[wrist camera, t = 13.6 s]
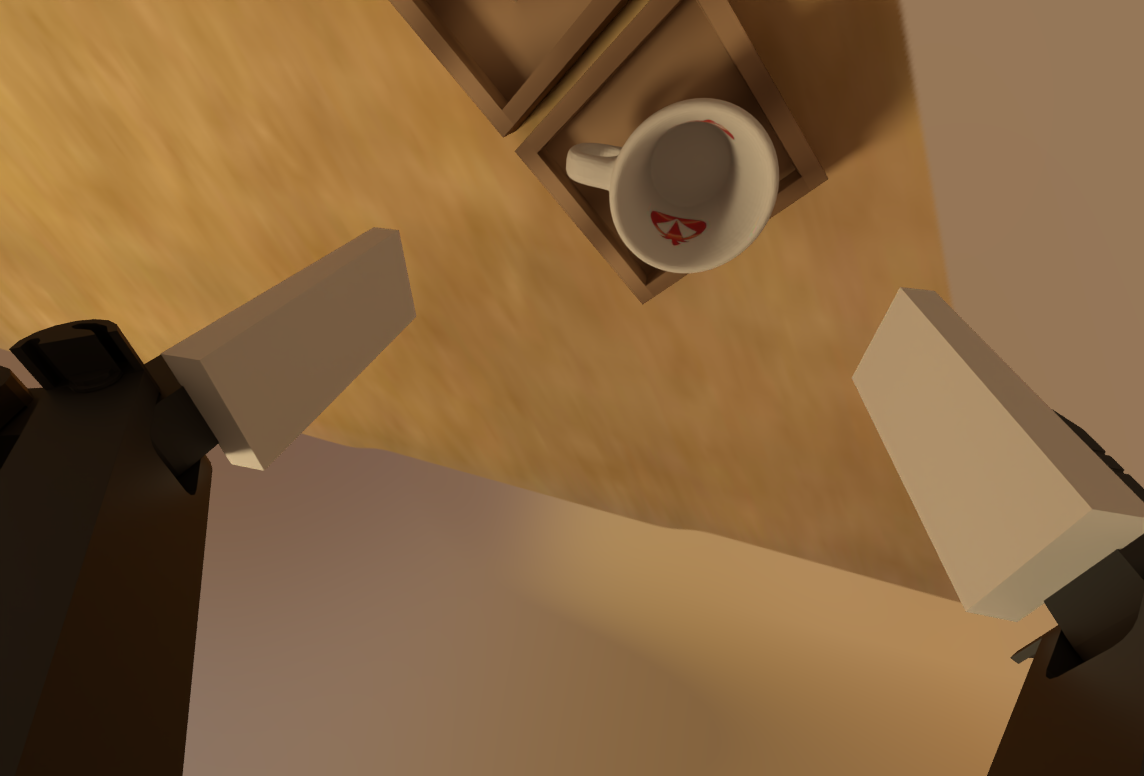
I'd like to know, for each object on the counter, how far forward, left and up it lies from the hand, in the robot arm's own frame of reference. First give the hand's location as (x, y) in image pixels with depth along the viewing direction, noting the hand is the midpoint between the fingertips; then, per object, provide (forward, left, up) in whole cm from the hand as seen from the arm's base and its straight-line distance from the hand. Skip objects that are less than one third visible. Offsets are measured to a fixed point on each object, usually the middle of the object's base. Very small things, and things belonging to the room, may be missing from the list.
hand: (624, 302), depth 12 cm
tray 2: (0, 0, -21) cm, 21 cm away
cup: (0, 0, -20) cm, 20 cm away
